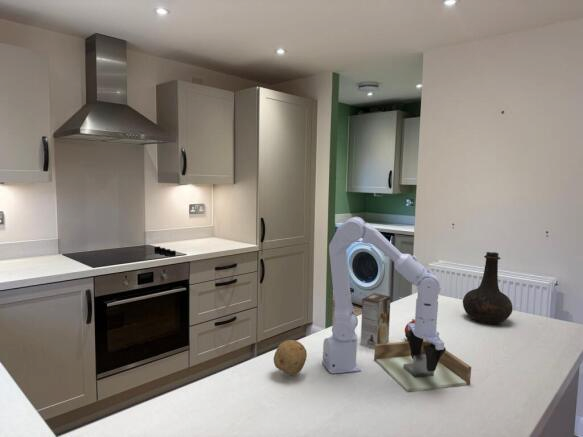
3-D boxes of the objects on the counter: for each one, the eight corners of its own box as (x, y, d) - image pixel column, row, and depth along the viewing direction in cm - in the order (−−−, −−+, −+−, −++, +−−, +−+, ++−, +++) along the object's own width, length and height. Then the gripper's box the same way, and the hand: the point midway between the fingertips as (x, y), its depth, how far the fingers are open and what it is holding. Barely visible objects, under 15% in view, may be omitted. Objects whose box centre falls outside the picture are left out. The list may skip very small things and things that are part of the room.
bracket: (433, 375, 112) (435, 355, 112) (414, 378, 111) (416, 357, 110) (421, 366, 118) (422, 346, 118) (403, 368, 117) (404, 348, 116)
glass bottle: (452, 314, 169) (457, 249, 166) (487, 311, 174) (491, 248, 172) (484, 330, 152) (490, 257, 149) (521, 326, 157) (527, 255, 155)
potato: (277, 384, 107) (278, 348, 106) (270, 369, 115) (270, 335, 114) (309, 381, 109) (311, 345, 108) (300, 366, 118) (301, 333, 117)
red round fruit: (419, 338, 141) (421, 316, 141) (423, 345, 136) (424, 322, 135) (402, 337, 142) (404, 315, 141) (405, 344, 136) (407, 321, 135)
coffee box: (372, 336, 142) (374, 292, 140) (389, 341, 138) (391, 296, 136) (359, 344, 134) (361, 298, 133) (377, 350, 131) (379, 302, 129)
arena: (407, 392, 105) (408, 373, 104) (374, 359, 123) (374, 344, 123) (470, 384, 110) (471, 367, 109) (429, 354, 128) (430, 339, 128)
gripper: (455, 325, 105) (452, 375, 106) (423, 307, 119) (421, 352, 120) (431, 327, 103) (428, 377, 104) (402, 309, 117) (399, 354, 118)
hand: (423, 364), depth 112 cm, fingers open, 7 cm apart
